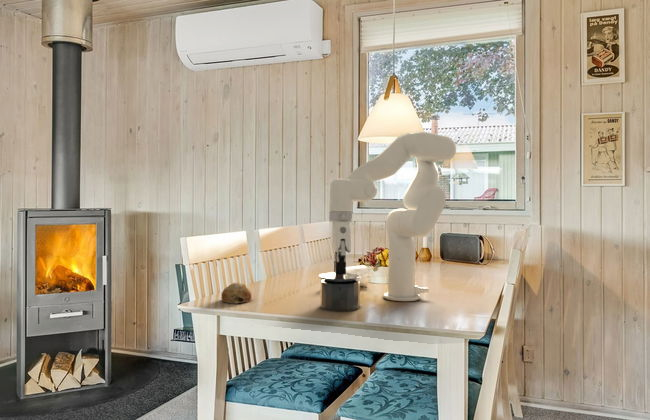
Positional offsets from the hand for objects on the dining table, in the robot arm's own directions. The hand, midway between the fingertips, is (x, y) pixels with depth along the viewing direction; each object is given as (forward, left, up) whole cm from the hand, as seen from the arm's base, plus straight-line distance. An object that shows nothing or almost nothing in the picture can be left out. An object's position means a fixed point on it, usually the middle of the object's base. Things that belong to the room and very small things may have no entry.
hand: (339, 273), depth 170 cm
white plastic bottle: (-9, -34, -11) cm, 37 cm away
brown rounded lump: (+34, -13, -11) cm, 38 cm away
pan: (0, 0, -11) cm, 11 cm away
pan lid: (0, 0, -1) cm, 1 cm away
